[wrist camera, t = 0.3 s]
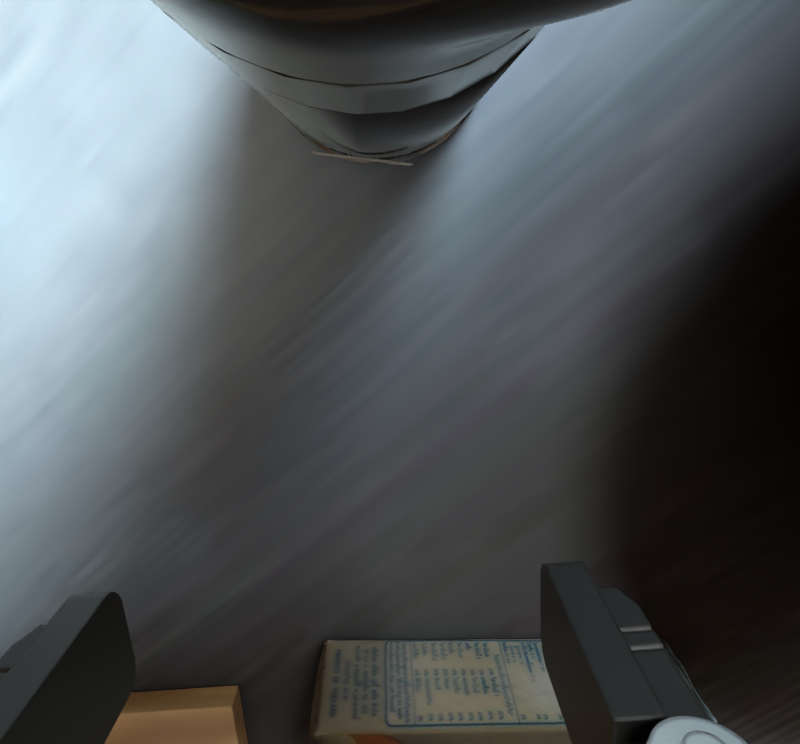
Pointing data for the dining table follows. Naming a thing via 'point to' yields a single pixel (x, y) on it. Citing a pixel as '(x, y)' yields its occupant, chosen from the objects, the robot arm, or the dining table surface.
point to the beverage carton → (439, 693)
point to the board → (181, 717)
